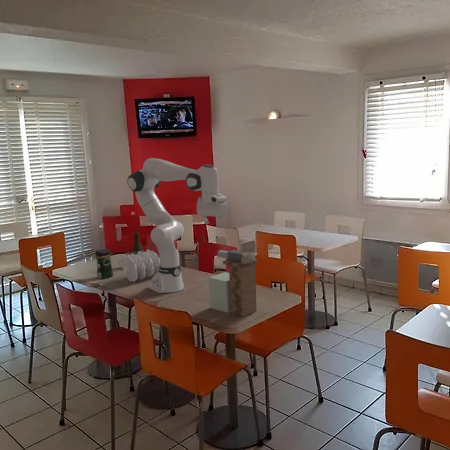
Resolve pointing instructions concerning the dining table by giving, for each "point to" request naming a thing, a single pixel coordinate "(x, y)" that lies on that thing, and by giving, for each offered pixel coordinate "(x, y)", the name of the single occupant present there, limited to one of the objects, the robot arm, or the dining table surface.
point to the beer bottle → (136, 244)
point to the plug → (230, 255)
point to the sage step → (220, 292)
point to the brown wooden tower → (243, 281)
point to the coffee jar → (103, 263)
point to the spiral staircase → (140, 265)
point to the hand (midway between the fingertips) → (212, 224)
